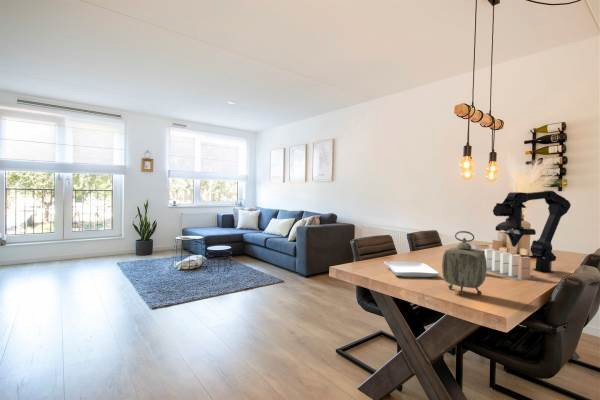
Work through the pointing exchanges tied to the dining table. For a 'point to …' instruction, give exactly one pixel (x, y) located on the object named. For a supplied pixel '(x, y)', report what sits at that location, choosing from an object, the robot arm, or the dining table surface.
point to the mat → (508, 275)
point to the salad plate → (411, 269)
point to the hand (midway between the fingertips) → (513, 246)
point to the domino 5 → (524, 268)
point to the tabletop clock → (464, 266)
